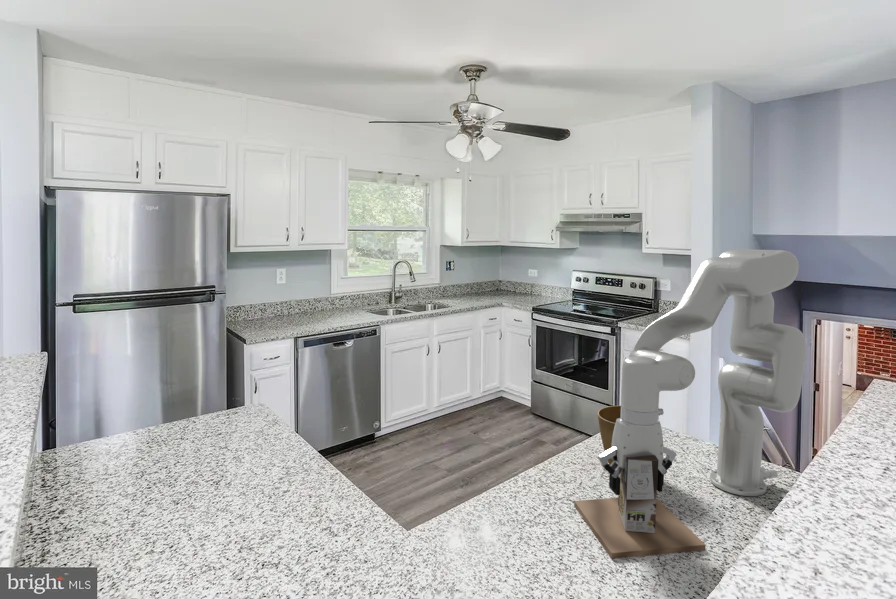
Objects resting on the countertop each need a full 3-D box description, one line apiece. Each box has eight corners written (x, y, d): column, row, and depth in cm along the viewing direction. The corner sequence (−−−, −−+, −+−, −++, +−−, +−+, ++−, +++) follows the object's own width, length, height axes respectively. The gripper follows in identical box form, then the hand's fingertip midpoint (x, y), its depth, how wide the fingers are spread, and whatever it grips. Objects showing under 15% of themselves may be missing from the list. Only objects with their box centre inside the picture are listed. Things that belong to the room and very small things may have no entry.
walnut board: (653, 499, 122) (653, 494, 122) (705, 550, 102) (705, 544, 102) (574, 505, 119) (574, 500, 119) (611, 558, 100) (611, 553, 100)
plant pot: (595, 456, 146) (597, 403, 144) (650, 462, 142) (653, 407, 140) (596, 480, 132) (597, 421, 130) (657, 487, 128) (660, 427, 126)
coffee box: (656, 534, 106) (659, 460, 104) (624, 531, 107) (627, 459, 105) (646, 510, 115) (649, 443, 113) (616, 508, 116) (619, 441, 114)
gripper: (667, 407, 112) (663, 479, 115) (593, 411, 110) (591, 485, 112) (687, 419, 105) (683, 496, 107) (608, 423, 103) (605, 502, 105)
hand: (636, 490), depth 110 cm, fingers open, 9 cm apart
